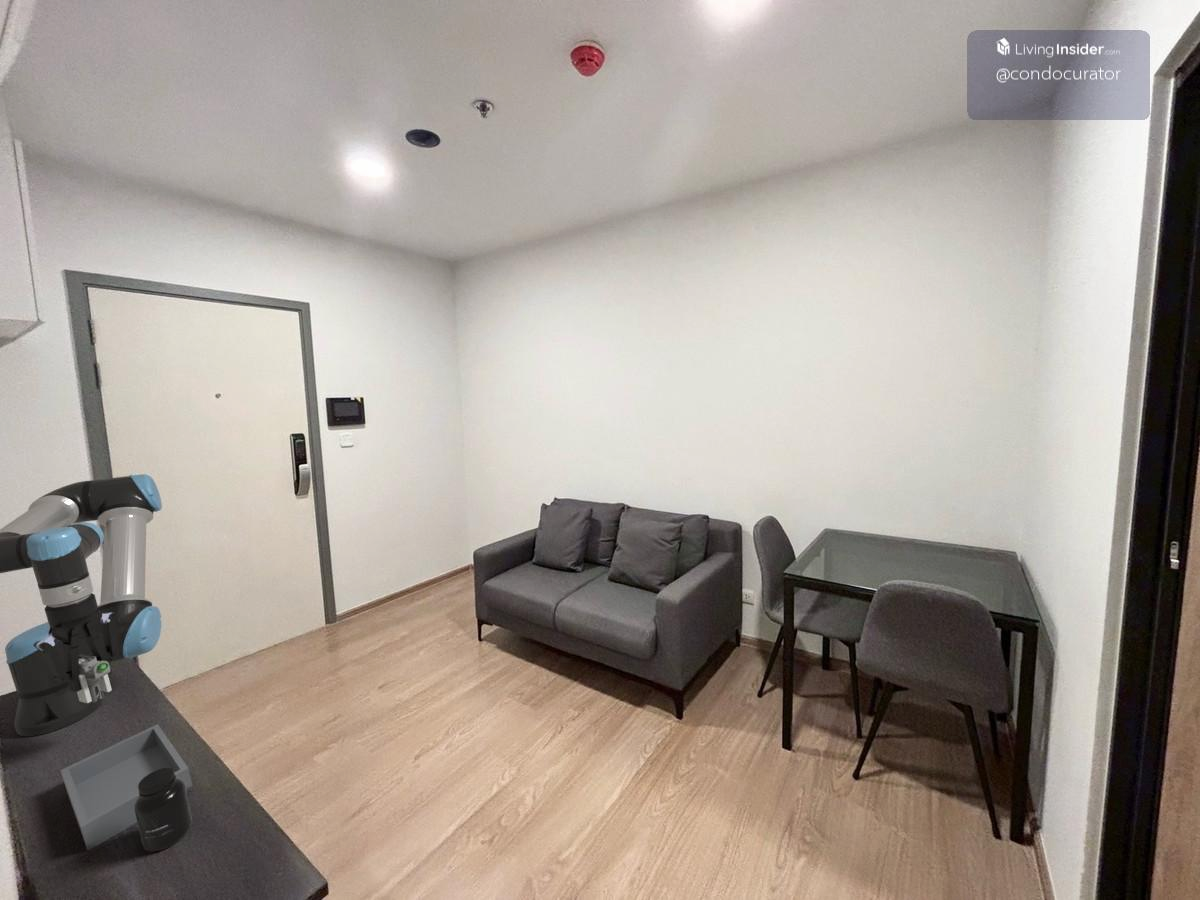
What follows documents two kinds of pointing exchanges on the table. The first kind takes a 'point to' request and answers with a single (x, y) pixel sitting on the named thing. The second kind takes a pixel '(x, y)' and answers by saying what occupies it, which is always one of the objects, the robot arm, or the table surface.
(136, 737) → the bin
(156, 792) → the supplement bottle
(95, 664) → the mechanical component
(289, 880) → the table surface
